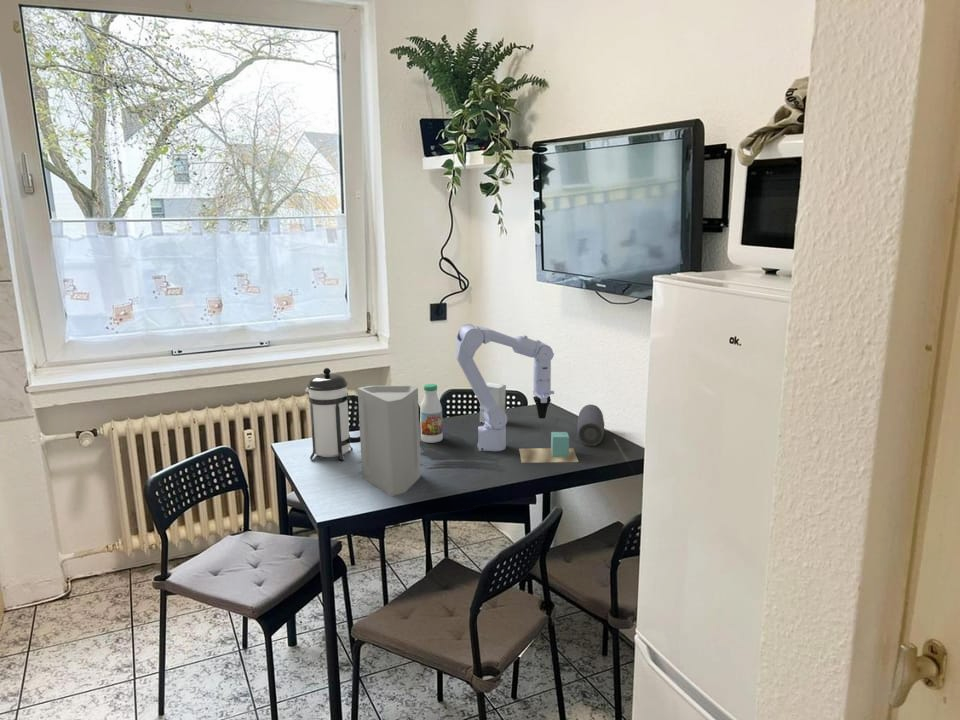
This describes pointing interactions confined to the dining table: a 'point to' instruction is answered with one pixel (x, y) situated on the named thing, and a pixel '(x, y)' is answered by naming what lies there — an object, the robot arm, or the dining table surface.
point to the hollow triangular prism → (390, 436)
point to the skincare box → (496, 396)
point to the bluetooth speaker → (590, 425)
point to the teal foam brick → (560, 444)
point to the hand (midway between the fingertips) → (541, 417)
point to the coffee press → (330, 415)
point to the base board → (544, 456)
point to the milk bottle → (431, 415)
